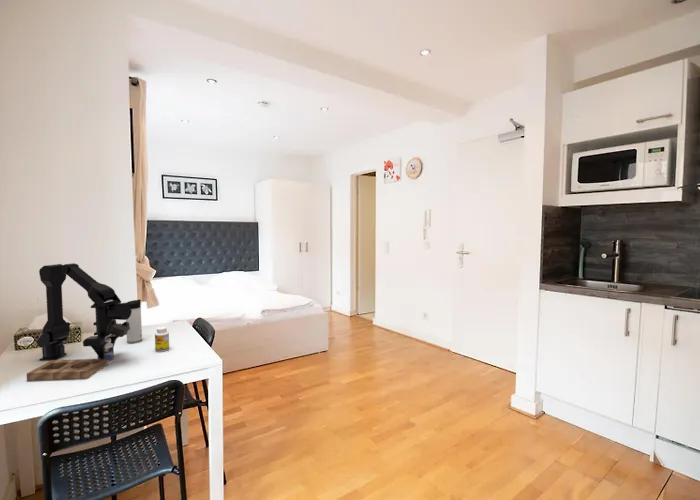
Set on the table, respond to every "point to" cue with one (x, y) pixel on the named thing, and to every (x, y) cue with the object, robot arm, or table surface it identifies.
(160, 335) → the supplement bottle
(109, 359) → the pill bottle
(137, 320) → the travel mug
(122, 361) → the table surface
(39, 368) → the socket block
